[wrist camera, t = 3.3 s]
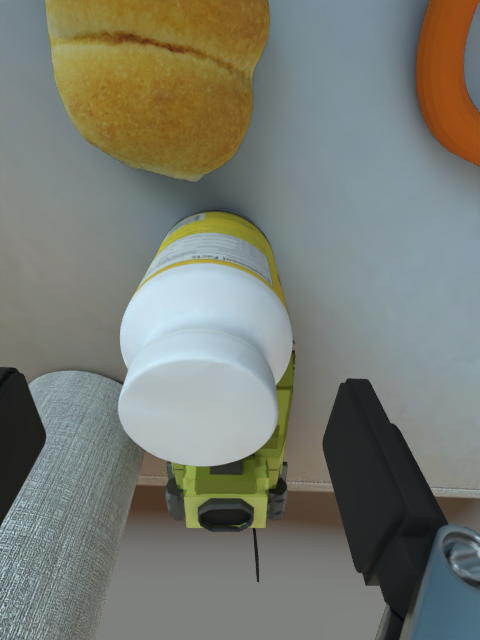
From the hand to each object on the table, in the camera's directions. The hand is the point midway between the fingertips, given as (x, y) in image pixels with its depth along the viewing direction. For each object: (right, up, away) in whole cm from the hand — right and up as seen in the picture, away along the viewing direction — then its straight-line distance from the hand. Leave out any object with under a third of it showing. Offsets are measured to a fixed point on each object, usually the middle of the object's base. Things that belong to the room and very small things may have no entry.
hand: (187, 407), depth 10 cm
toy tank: (+1, -3, +15) cm, 16 cm away
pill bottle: (0, +6, +9) cm, 11 cm away
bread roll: (-2, +14, +4) cm, 15 cm away
